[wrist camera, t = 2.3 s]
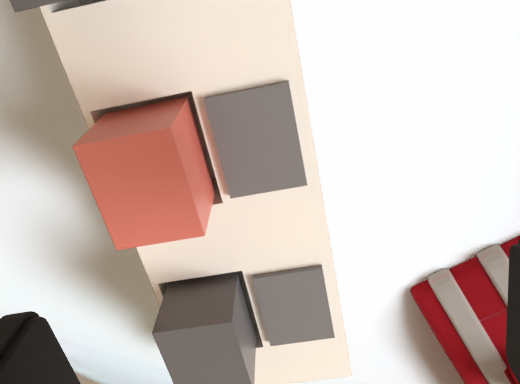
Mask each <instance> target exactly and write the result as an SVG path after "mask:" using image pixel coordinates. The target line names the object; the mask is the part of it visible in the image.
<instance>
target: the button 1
mask: <svg viewBox="0 0 520 384" xmlns="http://www.w3.org/2000/svg"><path fill="white" fill-rule="evenodd" d="M10 1H11V4H12V6H13V8H14V11H15V12H19V11H23V10H28V9H32V8H36V7H40V6H45V5H49V4H53V3H58V2H62V1H66V0H10Z"/></svg>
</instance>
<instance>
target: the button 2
mask: <svg viewBox="0 0 520 384" xmlns="http://www.w3.org/2000/svg"><path fill="white" fill-rule="evenodd" d="M72 147H73V149H74V151H75V154H76V156H77V158H78V161H79V163H80V165H81V168H82V170H83V172H84V175H85V177H86V179H87V182H88V184H89V186H90V189H91V191H92V193H93V196H94V198H95V200H96V203H97V205H98V207H99V210H100V212H101V214H102V217H103V219H104V221H105V224H106V226H107V228H108V231H109V233H110V236H111V238H112V240H113V243H114V245H115V247H116V250H122V249H128V248H134V247H141V246H147V245H153V244H159V243H165V242H171V241H177V240H183V239H190V238H196V237H202V236H205V234H206V229H207V225H208V221H209V216H210V212H211V208H212V203H213V199H214V195H215V190H214V186H213V183H212V179H211V176H210V172H209V169H208V165H207V162H206V158H205V155H204V151H203V148H202V144H201V141H200V137H199V134H198V130H197V127H196V123H195V120H194V116H193V113H192V109H191V106H190V102H189V99H188V97H184V98H179V99H174V100H169V101H164V102H159V103H154V104H149V105H144V106H139V107H134V108H129V109H124V110H119V111H114V112H109V113H105V114H104V115H103V116H102V117H101V118H100V119H99V120H98V121H97V122H96V123H95V124H94V125H93V126H92V127H91V128H90V129H89V130H88V131H87V132H86V133H85V134H84V135H83V136H82V137H81V138H80V139H79V140H78V141H77V142H76V143H75V144H74V145H73V146H72Z"/></svg>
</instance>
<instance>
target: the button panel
mask: <svg viewBox="0 0 520 384" xmlns="http://www.w3.org/2000/svg"><path fill="white" fill-rule="evenodd" d="M40 9H41V12H42V14H43V17H44V19H45V22H46V24H47V27H48V29H49V32H50V34H51V37H52V39H53V42H54V44H55V47H56V49H57V52H58V54H59V57H60V59H61V62H62V64H63V67H64V69H65V72H66V74H67V77H68V79H69V82H70V84H71V86H72V89H73V91H74V94H75V96H76V99H77V101H78V104H79V106H80V109H81V111H82V114H83V116H84V119H85V121H86V124H87V126H88V129H90V128H91V127H92V126H93V125H94V124H95V123H96V122H97V121H98V120H99V119H100V118H101V117H102V116H103V115H104V114H105V113H109V112H114V111H119V110H124V109H129V108H134V107H139V106H144V105H149V104H154V103H159V102H164V101H169V100H174V99H179V98H184V97H188V99H189V102H190V106H191V109H192V113H193V116H194V120H195V123H196V127H197V130H198V134H199V137H200V141H201V144H202V148H203V151H204V155H205V158H206V162H207V165H208V169H209V172H210V176H211V179H212V183H213V186H214V190H215V195H214V199H213V203H212V208H211V212H210V216H209V221H208V225H207V229H206V234H205V236H202V237H196V238H190V239H183V240H177V241H171V242H165V243H159V244H153V245H147V246H141V247H136V248H137V251H138V253H139V256H140V258H141V261H142V263H143V266H144V268H145V271H146V273H147V275H148V278H149V280H150V283H151V285H152V288H153V290H154V293H155V295H156V298H157V300H158V303H159V305H160V307H161V303H162V300H163V297H164V294H165V290H166V287H167V284H168V282H172V281H178V280H185V279H191V278H198V277H205V276H211V275H218V274H224V273H231V272H237V271H238V273H239V277H240V280H241V284H242V287H243V291H244V294H245V298H246V301H247V305H248V308H249V312H250V315H251V319H252V322H253V326H254V329H255V333H256V355H255V379H254V384H290V383H298V382H307V381H315V380H323V379H331V378H339V377H348V376H352V372H351V366H350V360H349V354H348V348H347V341H346V335H345V329H344V323H343V317H342V311H341V305H340V299H339V293H338V287H337V281H336V275H335V269H334V263H333V257H332V251H331V245H330V238H329V232H328V226H327V220H326V214H325V208H324V202H323V196H322V190H321V184H320V178H319V172H318V166H317V160H316V154H315V148H314V142H313V135H312V129H311V123H310V117H309V111H308V105H307V99H306V93H305V87H304V81H303V75H302V69H301V63H300V57H299V51H298V45H297V39H296V32H295V26H294V20H293V14H292V8H291V2H290V0H66V1H62V2H58V3H53V4H49V5H45V6H40Z"/></svg>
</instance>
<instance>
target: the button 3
mask: <svg viewBox="0 0 520 384" xmlns="http://www.w3.org/2000/svg"><path fill="white" fill-rule="evenodd" d="M152 334H153V336H154V339H155V341H156V343H157V346H158V348H159V350H160V353H161V355H162V357H163V360H164V362H165V364H166V367H167V369H168V371H169V374H170V376H171V378H172V381H173V383H174V384H254V379H255V355H256V333H255V329H254V326H253V322H252V319H251V315H250V312H249V308H248V305H247V301H246V298H245V294H244V291H243V287H242V284H241V280H240V277H239V273H238V271H237V272H231V273H224V274H218V275H211V276H205V277H198V278H191V279H185V280H178V281H172V282H168V284H167V287H166V290H165V294H164V297H163V300H162V303H161V307H160V310H159V313H158V316H157V319H156V323H155V326H154V329H153V332H152Z"/></svg>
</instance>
